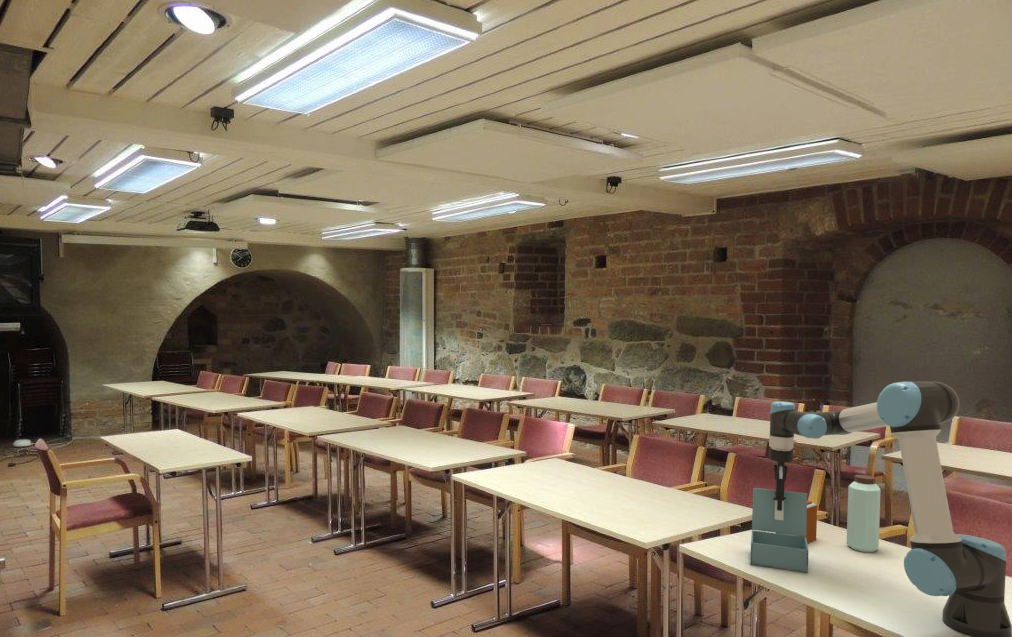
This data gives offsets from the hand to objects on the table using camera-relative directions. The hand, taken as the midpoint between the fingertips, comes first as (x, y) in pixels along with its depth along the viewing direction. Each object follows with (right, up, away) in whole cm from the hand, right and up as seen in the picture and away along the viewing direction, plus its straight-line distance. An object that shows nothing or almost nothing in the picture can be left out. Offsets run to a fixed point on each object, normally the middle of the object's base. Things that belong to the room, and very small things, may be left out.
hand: (778, 519), depth 232 cm
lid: (+1, +2, +3) cm, 4 cm away
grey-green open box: (-2, -13, -4) cm, 13 cm away
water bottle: (+33, -13, +11) cm, 37 cm away
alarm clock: (+13, -13, +18) cm, 26 cm away
